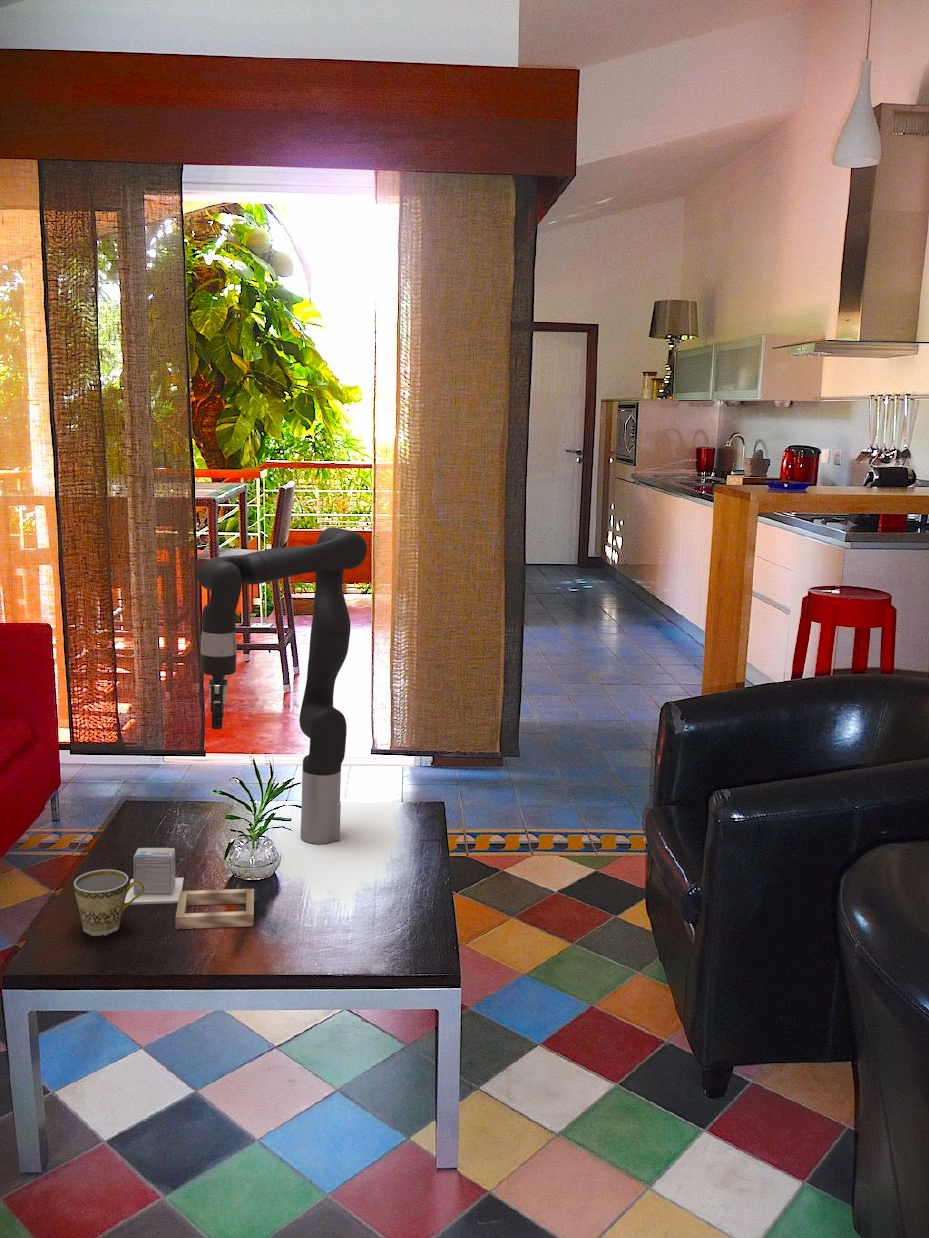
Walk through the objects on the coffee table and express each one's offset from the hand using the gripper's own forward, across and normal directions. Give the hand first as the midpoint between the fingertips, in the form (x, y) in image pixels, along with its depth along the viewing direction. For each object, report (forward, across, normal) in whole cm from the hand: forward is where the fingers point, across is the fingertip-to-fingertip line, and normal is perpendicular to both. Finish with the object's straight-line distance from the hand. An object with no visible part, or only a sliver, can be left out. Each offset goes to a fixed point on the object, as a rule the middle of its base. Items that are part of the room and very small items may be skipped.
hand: (217, 723), depth 223 cm
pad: (+33, -13, +12) cm, 38 cm away
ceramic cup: (+33, -28, +19) cm, 47 cm away
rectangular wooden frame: (+33, -24, -1) cm, 41 cm away
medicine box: (+33, -13, +12) cm, 37 cm away
